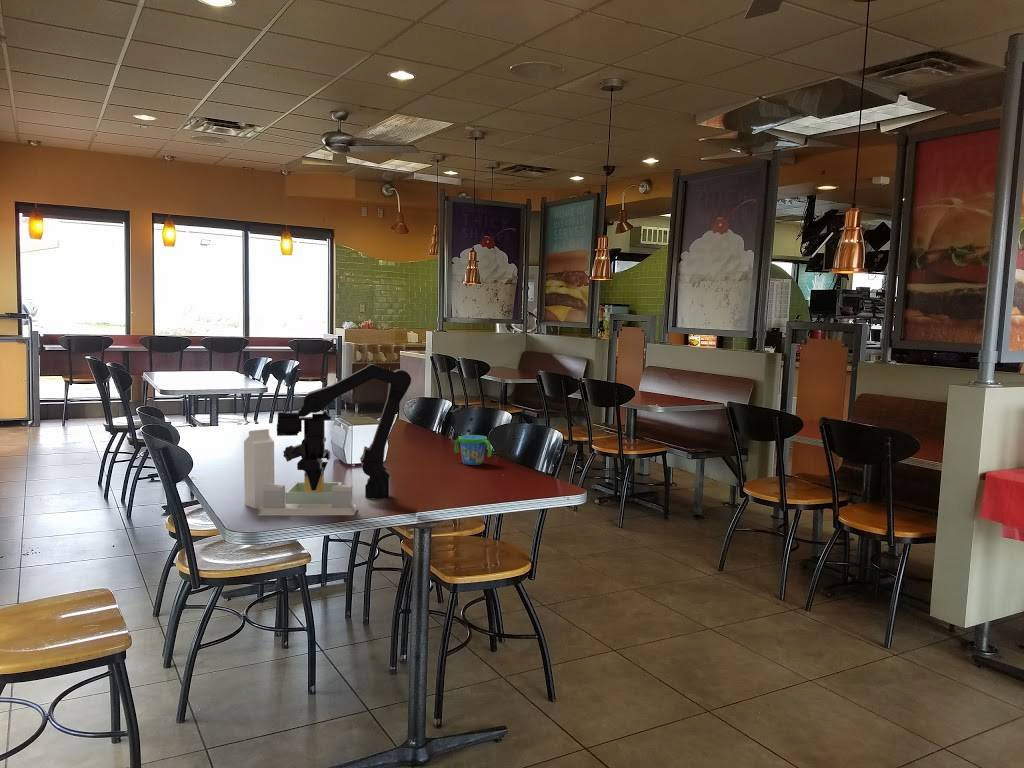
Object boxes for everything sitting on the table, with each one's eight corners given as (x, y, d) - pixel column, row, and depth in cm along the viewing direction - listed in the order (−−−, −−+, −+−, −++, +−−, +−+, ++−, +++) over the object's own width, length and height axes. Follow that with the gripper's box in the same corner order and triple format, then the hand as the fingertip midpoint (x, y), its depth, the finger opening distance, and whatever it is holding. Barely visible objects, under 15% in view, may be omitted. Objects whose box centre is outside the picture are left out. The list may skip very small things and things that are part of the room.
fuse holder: (357, 512, 209) (357, 503, 208) (353, 518, 202) (353, 509, 201) (264, 512, 207) (263, 503, 206) (257, 518, 200) (257, 509, 200)
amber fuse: (324, 494, 220) (324, 470, 219) (322, 496, 217) (322, 472, 216) (306, 494, 220) (306, 470, 219) (304, 496, 217) (304, 472, 216)
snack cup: (497, 464, 282) (498, 437, 281) (479, 468, 274) (480, 440, 273) (466, 459, 292) (466, 433, 291) (447, 463, 283) (447, 436, 282)
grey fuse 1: (285, 510, 205) (284, 484, 205) (282, 513, 202) (282, 487, 202) (266, 510, 205) (266, 484, 204) (263, 513, 202) (263, 487, 201)
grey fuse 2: (352, 510, 206) (352, 484, 206) (350, 513, 203) (350, 487, 203) (333, 510, 206) (333, 484, 206) (331, 513, 203) (331, 487, 203)
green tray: (341, 497, 226) (341, 482, 225) (334, 508, 212) (334, 492, 212) (295, 497, 225) (295, 482, 224) (285, 508, 211) (285, 492, 211)
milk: (274, 508, 211) (274, 430, 209) (254, 512, 207) (254, 432, 205) (264, 504, 215) (263, 427, 214) (243, 507, 211) (243, 429, 209)
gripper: (292, 430, 226) (293, 482, 227) (278, 440, 207) (278, 496, 208) (330, 430, 226) (330, 482, 228) (319, 440, 208) (319, 496, 209)
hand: (314, 488), depth 218 cm, fingers closed on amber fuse, 3 cm apart
